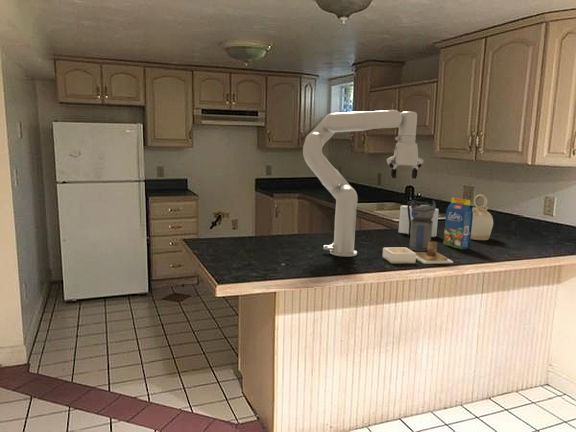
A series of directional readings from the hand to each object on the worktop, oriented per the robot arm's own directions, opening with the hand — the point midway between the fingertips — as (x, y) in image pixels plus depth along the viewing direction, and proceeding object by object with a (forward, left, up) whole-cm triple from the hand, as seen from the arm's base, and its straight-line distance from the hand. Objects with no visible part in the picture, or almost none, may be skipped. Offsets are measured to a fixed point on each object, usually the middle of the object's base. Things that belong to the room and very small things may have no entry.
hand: (403, 178), depth 211 cm
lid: (+13, -7, -36) cm, 38 cm away
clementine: (-3, -8, -36) cm, 36 cm away
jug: (+63, +37, -36) cm, 82 cm away
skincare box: (+32, +48, -37) cm, 68 cm away
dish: (-3, -8, -36) cm, 37 cm away
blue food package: (+39, +17, -37) cm, 56 cm away
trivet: (+13, -7, -36) cm, 39 cm away
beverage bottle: (+15, +11, -36) cm, 41 cm away
